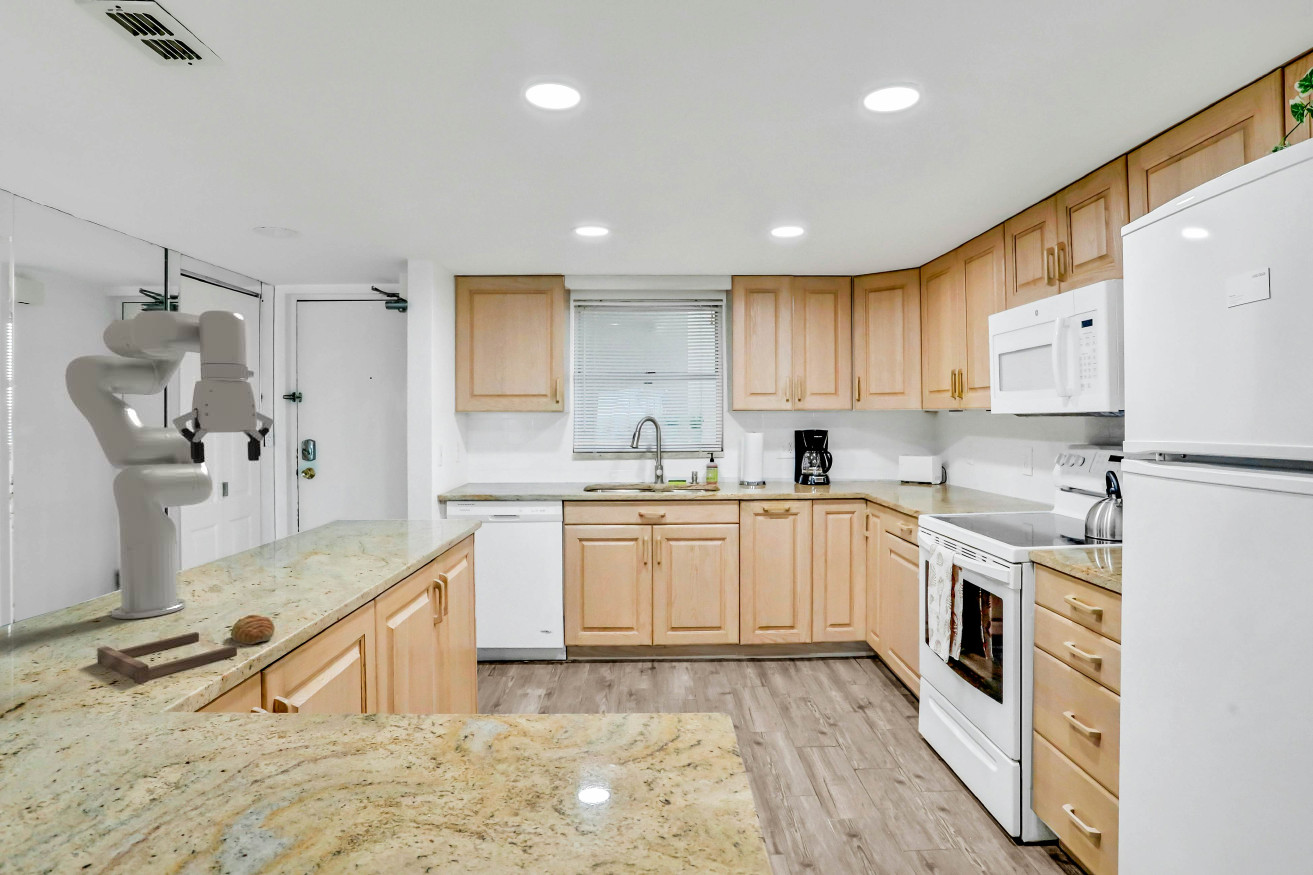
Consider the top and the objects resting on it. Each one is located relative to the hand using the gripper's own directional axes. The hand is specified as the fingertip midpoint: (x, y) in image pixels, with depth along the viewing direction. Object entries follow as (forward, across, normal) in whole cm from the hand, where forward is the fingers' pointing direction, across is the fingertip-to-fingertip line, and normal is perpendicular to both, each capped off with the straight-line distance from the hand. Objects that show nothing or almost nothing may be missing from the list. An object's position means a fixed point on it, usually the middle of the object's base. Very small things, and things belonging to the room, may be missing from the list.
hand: (227, 461), depth 126 cm
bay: (+33, +13, +9) cm, 37 cm away
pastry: (+34, 0, +9) cm, 35 cm away
